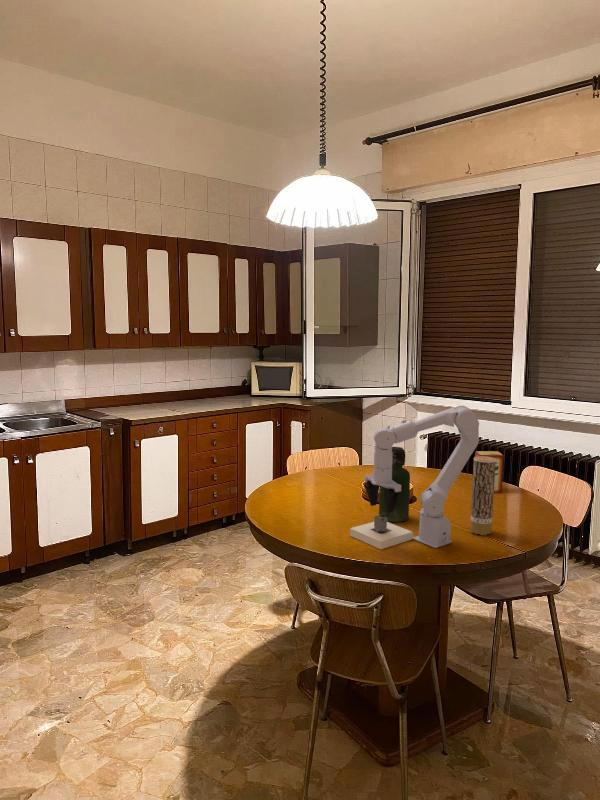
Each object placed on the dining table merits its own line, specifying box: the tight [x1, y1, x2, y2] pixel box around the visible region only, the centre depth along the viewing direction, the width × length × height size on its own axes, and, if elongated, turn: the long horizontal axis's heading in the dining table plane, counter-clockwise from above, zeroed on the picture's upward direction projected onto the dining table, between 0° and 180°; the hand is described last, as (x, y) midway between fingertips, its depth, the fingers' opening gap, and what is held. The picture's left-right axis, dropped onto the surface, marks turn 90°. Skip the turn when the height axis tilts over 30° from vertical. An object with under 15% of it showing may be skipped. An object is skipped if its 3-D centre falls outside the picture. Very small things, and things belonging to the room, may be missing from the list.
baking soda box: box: [474, 450, 505, 494], centre depth 245 cm, size 10×6×16 cm
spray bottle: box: [378, 446, 411, 523], centre depth 211 cm, size 10×10×25 cm
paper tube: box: [469, 456, 496, 536], centre depth 197 cm, size 7×7×25 cm
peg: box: [373, 514, 388, 534], centre depth 193 cm, size 4×4×7 cm
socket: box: [349, 521, 414, 550], centre depth 194 cm, size 14×14×2 cm
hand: (381, 508), depth 192 cm, fingers open, 7 cm apart
